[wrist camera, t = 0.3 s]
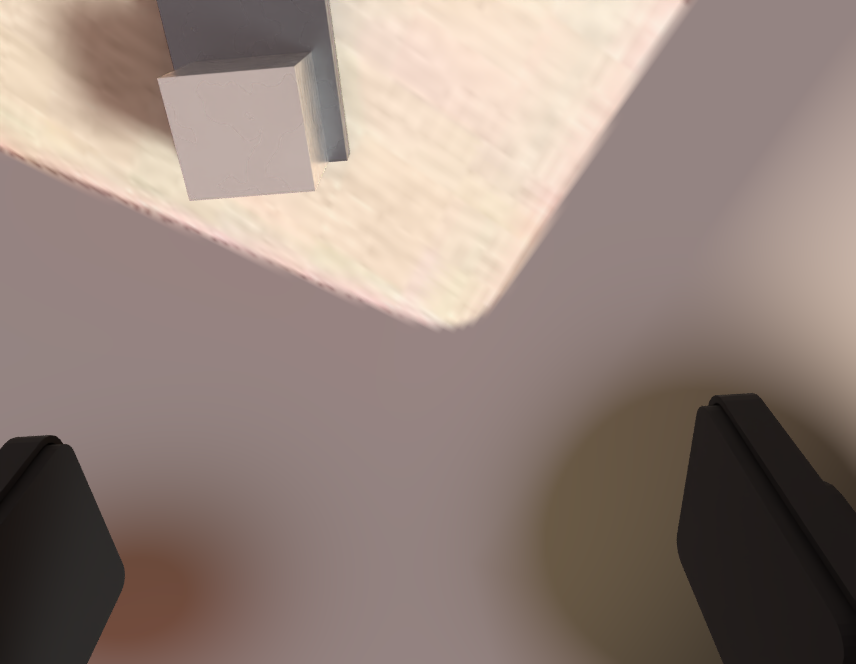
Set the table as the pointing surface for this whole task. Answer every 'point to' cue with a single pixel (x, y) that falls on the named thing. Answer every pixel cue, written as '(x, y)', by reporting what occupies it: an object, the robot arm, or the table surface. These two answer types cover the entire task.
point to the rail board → (261, 37)
